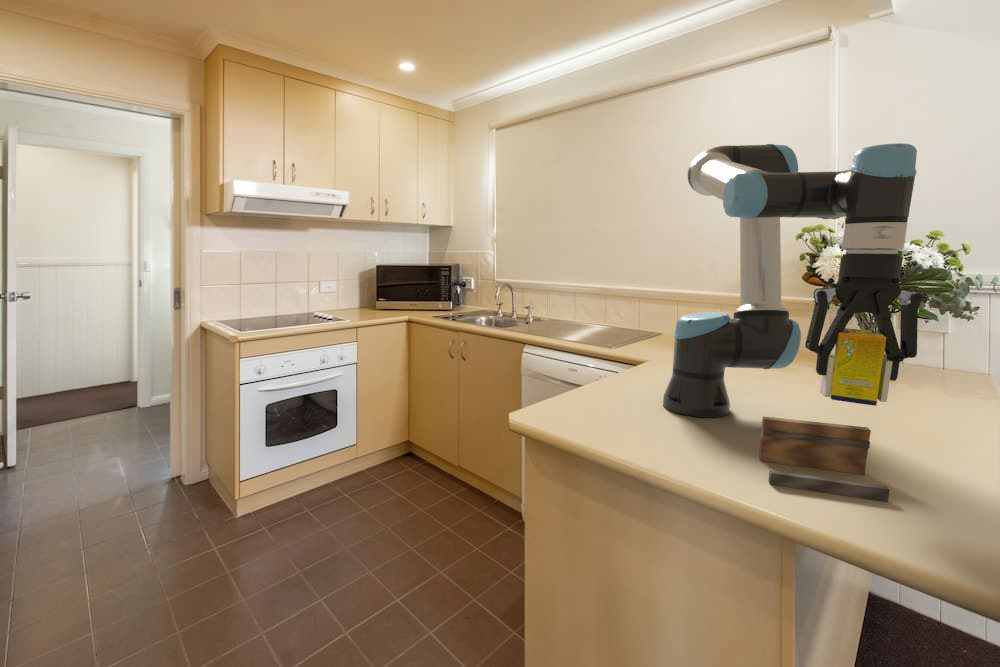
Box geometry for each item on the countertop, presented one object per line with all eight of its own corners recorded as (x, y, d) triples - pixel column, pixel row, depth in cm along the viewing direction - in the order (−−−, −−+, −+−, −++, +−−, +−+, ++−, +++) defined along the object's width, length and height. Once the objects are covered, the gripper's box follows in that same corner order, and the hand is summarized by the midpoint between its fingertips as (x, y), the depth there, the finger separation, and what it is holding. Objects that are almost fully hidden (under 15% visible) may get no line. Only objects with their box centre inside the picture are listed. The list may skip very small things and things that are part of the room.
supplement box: (828, 390, 81) (837, 327, 79) (873, 396, 78) (883, 330, 76) (829, 399, 76) (838, 332, 74) (876, 406, 73) (887, 336, 71)
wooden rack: (769, 484, 78) (774, 438, 77) (758, 457, 89) (762, 416, 87) (887, 501, 73) (895, 452, 72) (861, 471, 83) (867, 427, 82)
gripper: (803, 252, 73) (787, 397, 77) (967, 252, 66) (940, 411, 70) (792, 252, 80) (777, 385, 83) (938, 252, 73) (916, 396, 77)
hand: (852, 396), depth 77 cm, fingers closed on supplement box, 7 cm apart
